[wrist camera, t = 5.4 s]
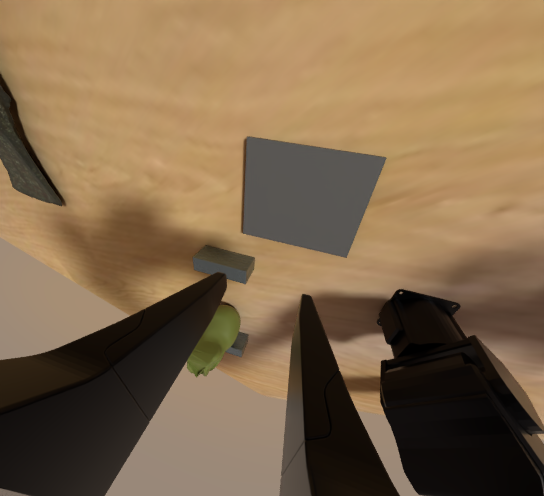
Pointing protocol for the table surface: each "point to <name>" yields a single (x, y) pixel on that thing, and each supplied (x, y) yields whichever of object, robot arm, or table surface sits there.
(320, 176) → the mat
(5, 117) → the tool
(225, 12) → the table surface
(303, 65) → the table surface
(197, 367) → the pear
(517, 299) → the table surface
